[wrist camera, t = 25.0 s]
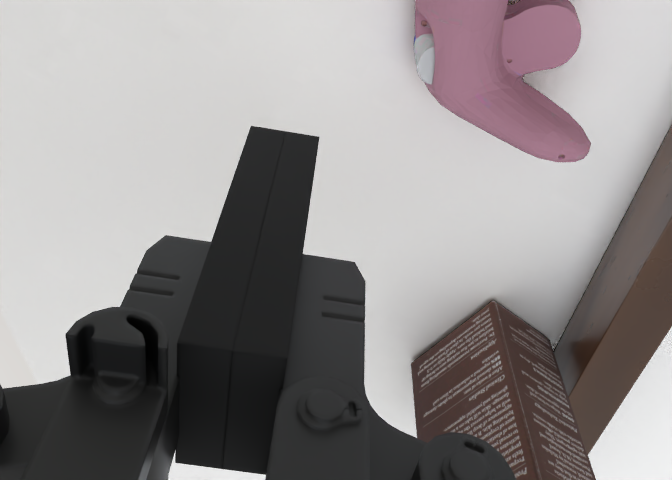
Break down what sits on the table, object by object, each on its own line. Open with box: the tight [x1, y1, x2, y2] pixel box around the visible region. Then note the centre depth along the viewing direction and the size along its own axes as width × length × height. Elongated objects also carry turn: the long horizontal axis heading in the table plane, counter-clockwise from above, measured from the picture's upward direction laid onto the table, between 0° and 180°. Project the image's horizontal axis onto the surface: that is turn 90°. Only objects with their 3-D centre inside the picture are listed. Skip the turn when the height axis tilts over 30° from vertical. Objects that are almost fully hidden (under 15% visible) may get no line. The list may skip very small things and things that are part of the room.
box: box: [411, 301, 596, 480], centre depth 27 cm, size 6×4×12 cm
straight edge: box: [554, 126, 672, 455], centre depth 30 cm, size 2×33×3 cm, turn 171°
